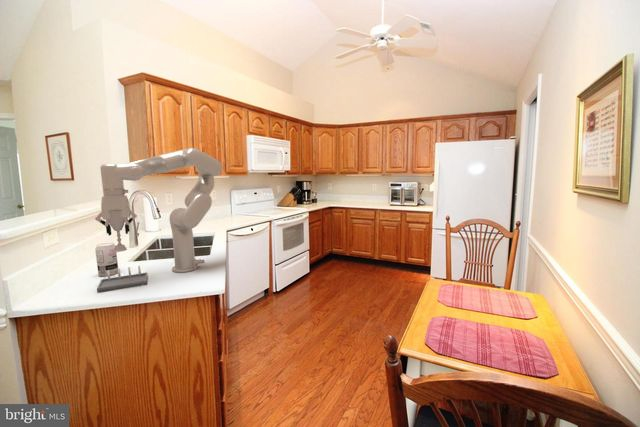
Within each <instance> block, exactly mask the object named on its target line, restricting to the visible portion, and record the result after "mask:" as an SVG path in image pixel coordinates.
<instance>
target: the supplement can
mask: <svg viewBox="0 0 640 427" xmlns="http://www.w3.org/2000/svg"><path fill="white" fill-rule="evenodd" d="M115 246H116V245H115V243H114V242H106V243H100V244H99V243H98V244H96V247H95V258H96V265H97V272H98V276H100V277H108V274H107V270H109V272H110V277H111V276H115V275H116V274H117V275H118V269H119V263H118V261H119V260H118V254H117V253H118V252H114V248H115Z"/></svg>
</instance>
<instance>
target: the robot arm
mask: <svg viewBox="0 0 640 427" xmlns="http://www.w3.org/2000/svg"><path fill="white" fill-rule="evenodd" d="M187 167H195V168H196V172H197V176H198V180H197V181H196V184H195V185H194V186H193V187H192V189H191V190H190V191H189V192H188V194H187V195H186V196H185V198H184V204H185V207H186V208H184V207H183V208H182V207H177V208H175V209H173V210H171V212H170V215H169V224H170V229H171V234H172V246H173V247H172V248H173V257H174V266H172V267H171V271H172V272H173V273H188V272H189V273H190V272H192V271H195V270H197V269H198V268H199V266H200V265H199V264H205V262H206V261H205V259H202V258H201V259H200V258H199V259H196V257H195V245H194V233H193V229H194V228H196V227H197V226H198V225H199V224H200V223H201V221H202V220H203V219H204V217H205V216H206V215H207V213H208V212H209V211H210V209H211V207H212V203H213V200H212V197H211V196H210V194H211V193H212V192H213V189H214V187H215V177H216V176H219V175H221V173H222V171H223V165H222V164H221V162H220V161H219V160H218V159H216V158H214V157H213V156H211V155H209V154H208V153H205V152H203V151H202V150H200V149H197V148H193V147H190V148H184V149H179V150H176V151H171V152H167V153H163V154H158V155H155V156H152V157H149V158H145V159H140V160H137V161H132V162H128V163H124V164H118V163H103V164H101V165H100V177H101V186H102V194H103V196H101V200H100V201H101V203H100V206H101V208H100V210H101V211H100V213H99V214H98V215H97V216H96V217H95V218H94V219H95V221H97V222H98V223H100V224H102V225H104V227H105V229H106V234H108V236H112V227H111V225H110V223H109V219H110V213H109V212H108V211H121V210H122V212H121V216H122V218H123V219H124V221H125V223H124V231H125V235H127V234H129V232H130V224H131V223H132V222H133V220H135V219H136V218H137V217H138V214H136V213H135V212H134V211H132V210H131V208H130V202H129V198H128V195H126V194H129V189H126V188H125V187H124V181H131V182H134V181H135V182H136V181H139V180H141V179H142V178H143V177H145V176H151V175H157V174H159V175H160V174H165V173H169V172H172V171H173V172H174V171H176V170H181V169H183V168H187Z"/></svg>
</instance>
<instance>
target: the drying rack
mask: <svg viewBox="0 0 640 427" xmlns="http://www.w3.org/2000/svg"><path fill="white" fill-rule="evenodd" d="M137 267H138V268H137V269H138V273H134V274H131V272H132V271H131V266H128V267H127V270H128V275H122V276H121V268H118V272H117V275H118V276H116V277H115V276H114V277H111V276H110V272H109V270H107V274H108V276H107V278H102V279H100V281H99V284H98V285H97V286H96V292H97V294H100V293H106V292H110V291H111V292H112V291H116V290H117V291H118V290H123V289H130V288H134V287H136V288H137V287H141V286H147V285H148V278H149V277H148V272H142V271H141V266H140V265H138V266H137Z"/></svg>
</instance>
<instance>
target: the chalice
mask: <svg viewBox="0 0 640 427" xmlns="http://www.w3.org/2000/svg"><path fill="white" fill-rule="evenodd" d="M108 212H109V213H110V219H109V224H110V226H111V229H113V231H115V232H116V237H117V239H116V241H117V245H115V248H114V252H116V253H119V252H125V251H127V250H128V249H127V247H126V246H125V244H123V243H122V242H121V241H122V238H121V236H122V235H121V233H120V232H121V231H122V230H123V228H124V227H125V221H124V219H123V218H122V216H121V212H122V210H121V211H108Z"/></svg>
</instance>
